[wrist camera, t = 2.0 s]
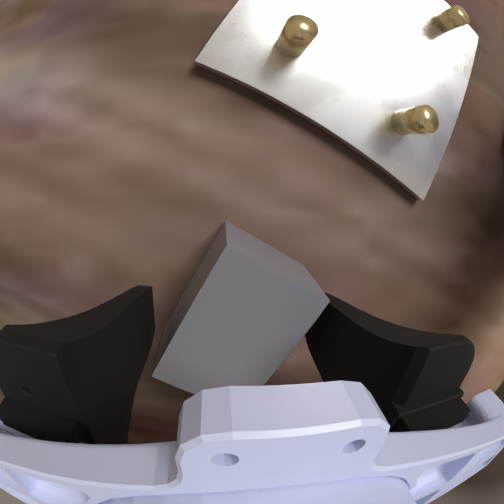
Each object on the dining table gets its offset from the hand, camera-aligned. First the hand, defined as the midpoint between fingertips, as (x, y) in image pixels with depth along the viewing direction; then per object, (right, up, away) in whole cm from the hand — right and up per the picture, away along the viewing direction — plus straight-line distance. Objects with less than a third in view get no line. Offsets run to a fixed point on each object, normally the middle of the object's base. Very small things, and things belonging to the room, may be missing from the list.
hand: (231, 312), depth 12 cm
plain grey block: (0, +1, +2) cm, 2 cm away
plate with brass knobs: (+7, +13, -2) cm, 15 cm away
